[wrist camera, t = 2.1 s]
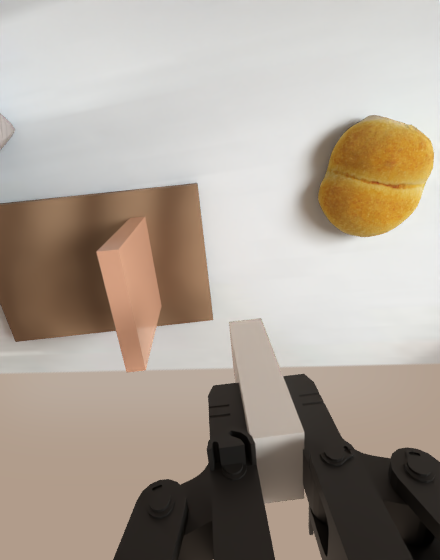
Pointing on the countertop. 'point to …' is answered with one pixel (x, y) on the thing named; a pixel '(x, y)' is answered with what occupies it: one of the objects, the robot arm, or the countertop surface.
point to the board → (84, 261)
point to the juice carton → (5, 131)
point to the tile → (131, 290)
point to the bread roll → (375, 176)
